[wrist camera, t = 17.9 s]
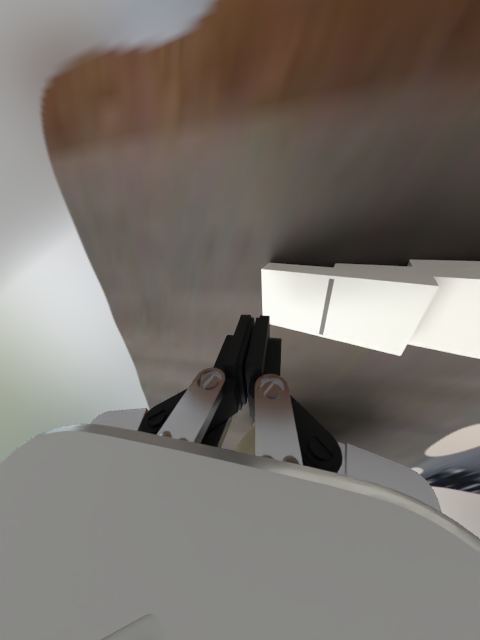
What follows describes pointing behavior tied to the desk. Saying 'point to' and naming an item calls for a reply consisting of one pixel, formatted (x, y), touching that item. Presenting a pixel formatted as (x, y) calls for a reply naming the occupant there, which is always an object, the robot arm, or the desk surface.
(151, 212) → the desk surface
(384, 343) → the domino
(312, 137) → the desk surface
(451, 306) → the domino
